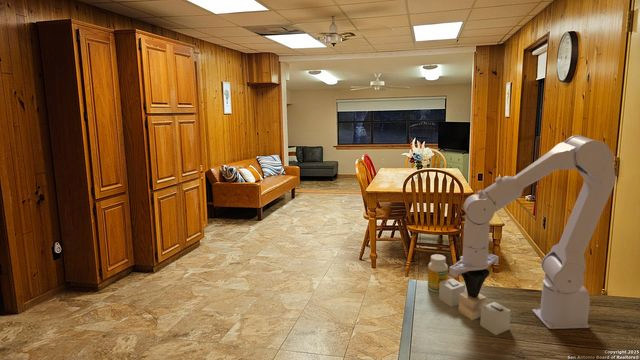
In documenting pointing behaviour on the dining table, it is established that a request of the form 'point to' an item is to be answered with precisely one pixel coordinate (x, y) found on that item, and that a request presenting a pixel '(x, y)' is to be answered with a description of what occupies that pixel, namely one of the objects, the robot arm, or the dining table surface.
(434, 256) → the supplement bottle
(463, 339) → the dining table surface
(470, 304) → the plain block
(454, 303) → the marked block 7
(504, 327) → the marked block 1
